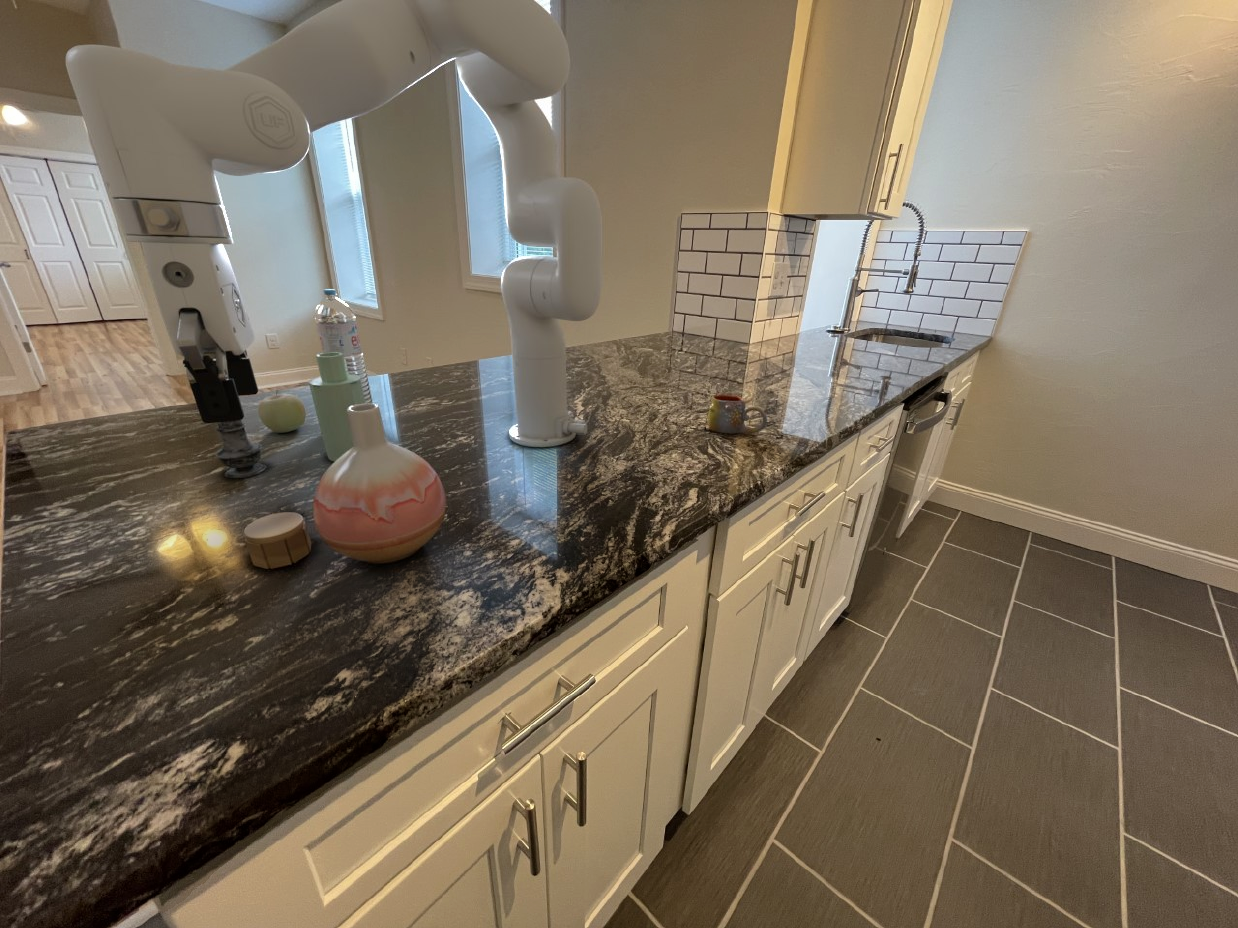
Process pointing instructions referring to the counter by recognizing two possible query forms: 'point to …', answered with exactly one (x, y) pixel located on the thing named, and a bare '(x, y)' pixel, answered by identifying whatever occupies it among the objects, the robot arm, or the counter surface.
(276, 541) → the cap
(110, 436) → the counter surface
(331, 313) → the water bottle
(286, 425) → the fruit
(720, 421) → the mug
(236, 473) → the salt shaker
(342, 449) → the ceramic bottle
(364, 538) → the vase
